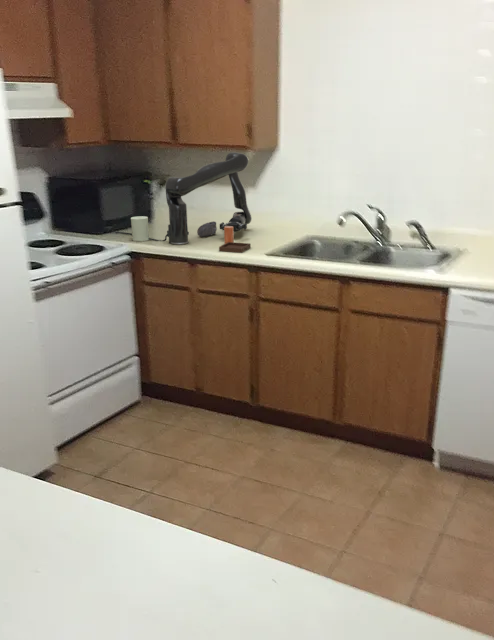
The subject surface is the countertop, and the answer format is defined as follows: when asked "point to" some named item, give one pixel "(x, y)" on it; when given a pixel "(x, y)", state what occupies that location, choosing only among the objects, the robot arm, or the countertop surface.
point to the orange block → (228, 234)
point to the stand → (235, 247)
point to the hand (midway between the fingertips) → (231, 228)
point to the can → (140, 228)
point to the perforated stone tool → (207, 229)
